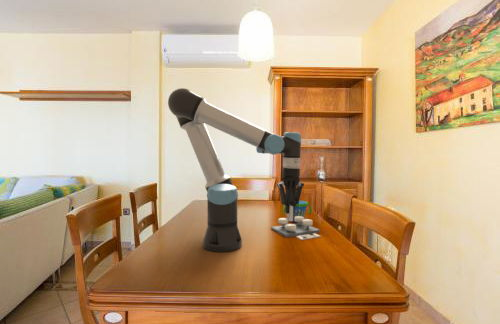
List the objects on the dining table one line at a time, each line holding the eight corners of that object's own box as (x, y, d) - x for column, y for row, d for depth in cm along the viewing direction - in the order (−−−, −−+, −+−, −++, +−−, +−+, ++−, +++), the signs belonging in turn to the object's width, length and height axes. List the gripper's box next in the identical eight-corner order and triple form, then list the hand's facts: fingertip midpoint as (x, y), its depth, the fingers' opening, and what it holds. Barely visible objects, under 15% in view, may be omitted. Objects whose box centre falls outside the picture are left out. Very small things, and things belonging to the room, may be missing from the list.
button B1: (306, 229, 125) (306, 222, 125) (300, 227, 130) (300, 219, 129) (314, 228, 127) (314, 221, 127) (308, 225, 132) (308, 218, 131)
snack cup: (308, 218, 154) (308, 199, 153) (315, 223, 143) (315, 203, 143) (280, 218, 152) (280, 200, 151) (285, 224, 141) (285, 204, 141)
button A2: (281, 228, 127) (281, 220, 127) (276, 225, 132) (276, 218, 131) (290, 227, 129) (290, 219, 129) (284, 224, 134) (284, 217, 133)
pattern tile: (301, 240, 117) (301, 238, 117) (295, 237, 120) (295, 235, 120) (320, 237, 121) (320, 235, 121) (314, 234, 124) (314, 232, 124)
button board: (286, 237, 120) (286, 234, 120) (271, 229, 132) (271, 226, 132) (319, 232, 127) (319, 229, 127) (302, 225, 139) (302, 222, 139)
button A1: (289, 234, 122) (289, 227, 122) (283, 232, 126) (283, 224, 126) (298, 233, 124) (298, 226, 123) (292, 230, 128) (292, 223, 128)
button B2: (298, 226, 131) (298, 218, 131) (292, 223, 135) (292, 216, 135) (306, 224, 133) (306, 217, 133) (300, 222, 137) (300, 215, 137)
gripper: (283, 168, 117) (281, 223, 118) (308, 168, 123) (306, 221, 124) (274, 166, 124) (272, 219, 125) (298, 166, 129) (297, 217, 131)
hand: (289, 220), depth 124 cm, fingers closed
